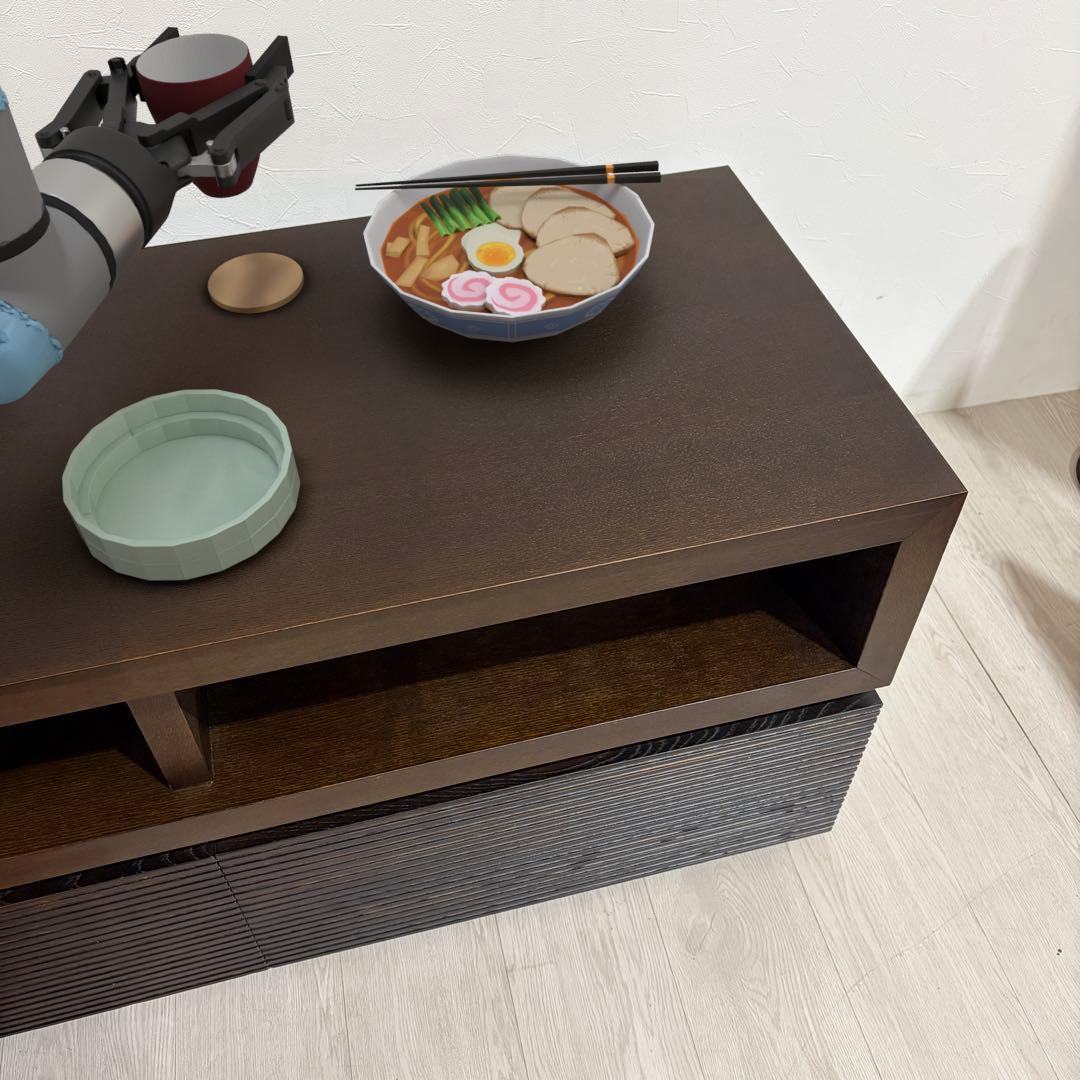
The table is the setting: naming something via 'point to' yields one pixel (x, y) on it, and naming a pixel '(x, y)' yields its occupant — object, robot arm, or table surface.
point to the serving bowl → (182, 484)
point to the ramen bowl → (511, 242)
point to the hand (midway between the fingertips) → (231, 49)
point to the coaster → (255, 283)
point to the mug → (196, 86)
